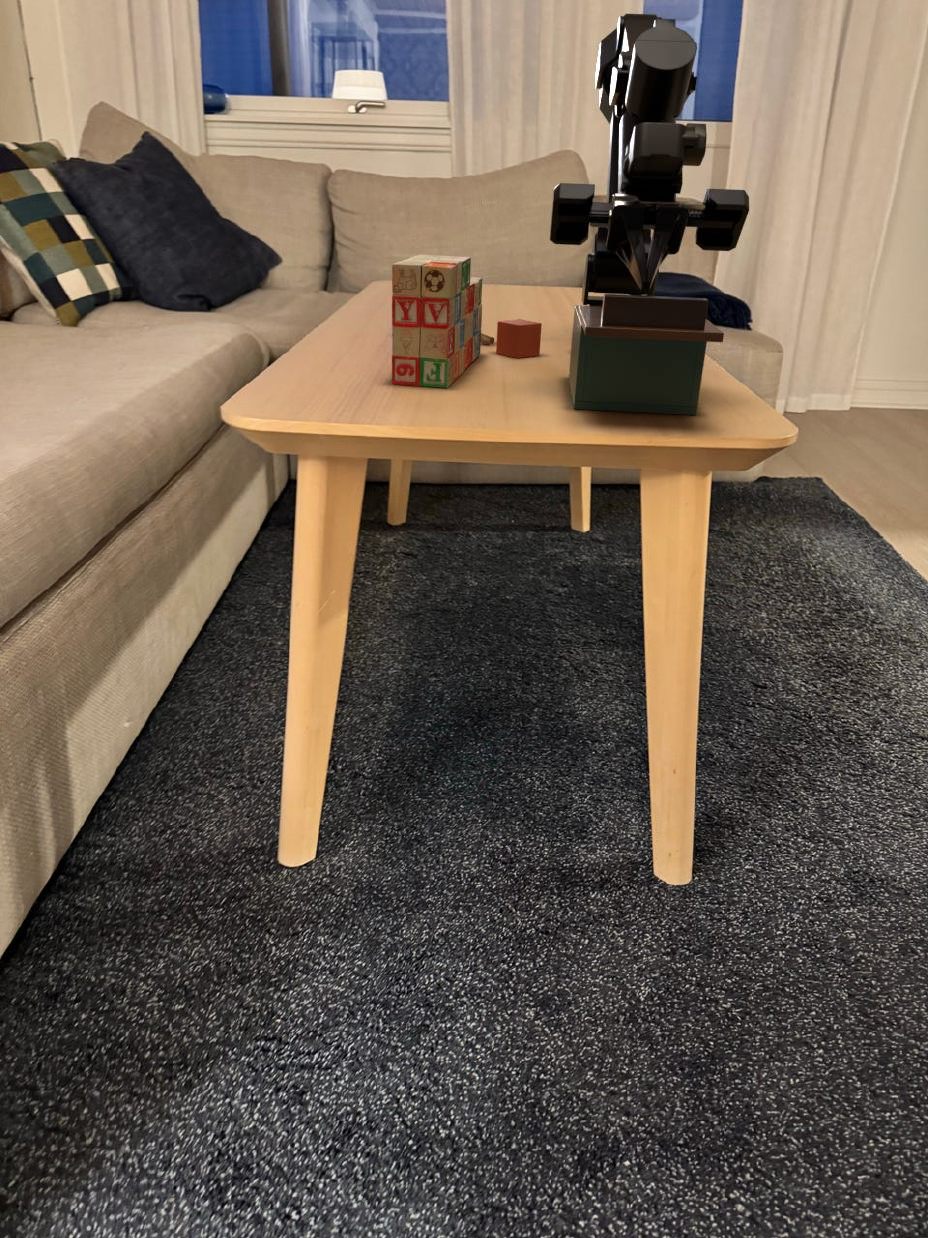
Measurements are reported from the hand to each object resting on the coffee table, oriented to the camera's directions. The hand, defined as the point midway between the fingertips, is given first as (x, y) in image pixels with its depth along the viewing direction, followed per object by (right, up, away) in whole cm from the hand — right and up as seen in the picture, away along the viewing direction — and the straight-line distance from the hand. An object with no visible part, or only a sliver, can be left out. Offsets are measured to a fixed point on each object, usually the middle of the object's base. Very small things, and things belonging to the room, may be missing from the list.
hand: (645, 287), depth 87 cm
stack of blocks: (-20, -3, +20) cm, 28 cm away
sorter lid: (0, -4, -1) cm, 4 cm away
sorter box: (0, -8, +9) cm, 12 cm away
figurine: (-20, +7, +39) cm, 44 cm away
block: (-10, +2, +30) cm, 32 cm away
